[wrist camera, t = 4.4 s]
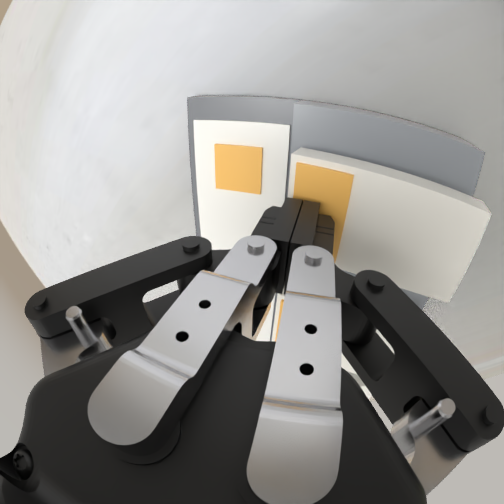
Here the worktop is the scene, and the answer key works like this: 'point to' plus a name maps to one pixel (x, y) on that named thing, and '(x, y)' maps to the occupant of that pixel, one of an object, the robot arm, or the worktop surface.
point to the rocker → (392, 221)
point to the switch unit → (288, 141)
